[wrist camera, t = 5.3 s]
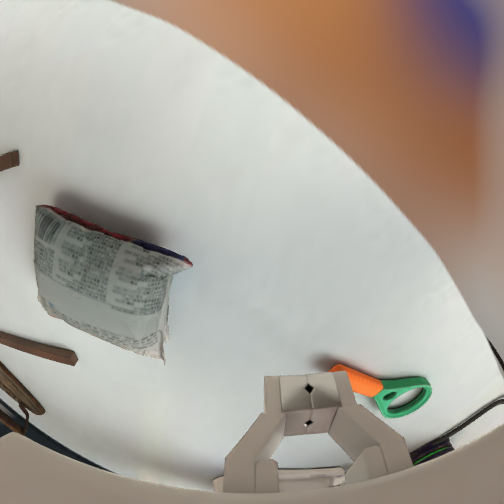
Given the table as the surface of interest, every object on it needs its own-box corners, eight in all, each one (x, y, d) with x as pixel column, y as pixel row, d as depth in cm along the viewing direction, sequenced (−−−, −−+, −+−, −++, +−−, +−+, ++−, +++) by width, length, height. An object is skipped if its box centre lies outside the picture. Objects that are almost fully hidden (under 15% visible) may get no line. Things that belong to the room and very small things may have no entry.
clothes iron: (-5, 353, 25) (-23, 405, 17) (53, 390, 31) (44, 443, 23) (-9, 370, 27) (-24, 416, 18) (43, 402, 32) (35, 449, 24)
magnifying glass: (436, 383, 24) (442, 393, 22) (398, 414, 26) (402, 424, 24) (356, 341, 20) (362, 356, 19) (308, 384, 22) (310, 398, 21)
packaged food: (172, 341, 20) (156, 388, 16) (49, 287, 19) (17, 319, 14) (201, 243, 17) (183, 282, 13) (53, 189, 16) (7, 209, 11)
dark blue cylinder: (437, 434, 30) (461, 501, 17) (456, 437, 32) (477, 493, 19) (393, 463, 34) (409, 526, 20) (416, 462, 36) (432, 517, 22)
